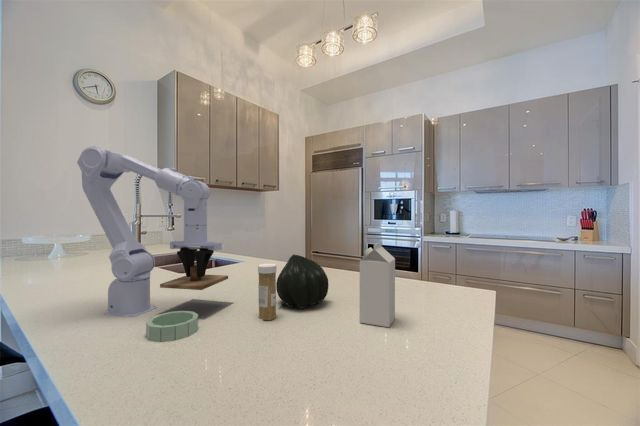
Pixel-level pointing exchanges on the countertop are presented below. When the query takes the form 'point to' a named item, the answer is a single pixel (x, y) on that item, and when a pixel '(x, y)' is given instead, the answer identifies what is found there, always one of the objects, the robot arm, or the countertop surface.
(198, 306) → the mat
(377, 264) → the milk carton
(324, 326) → the countertop surface
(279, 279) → the squash
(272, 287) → the sprinkles bottle
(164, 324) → the bowl
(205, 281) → the lid
